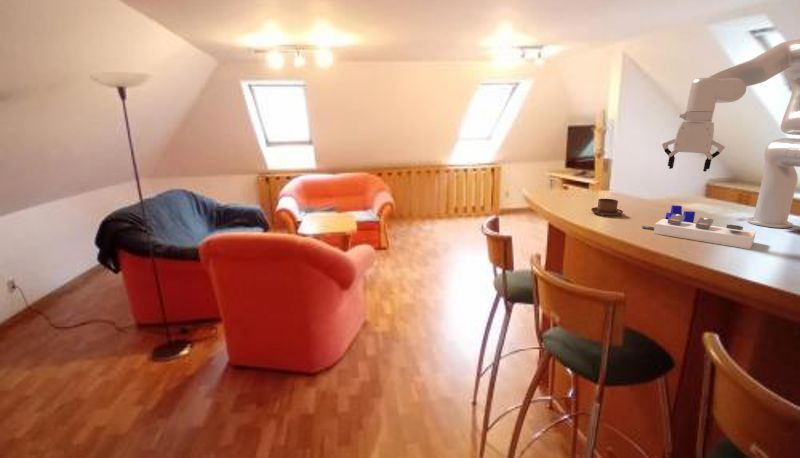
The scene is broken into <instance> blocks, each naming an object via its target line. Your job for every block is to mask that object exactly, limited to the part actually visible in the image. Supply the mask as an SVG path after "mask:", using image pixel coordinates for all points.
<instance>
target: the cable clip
mask: <svg viewBox="0 0 800 458" xmlns="http://www.w3.org/2000/svg"><path fill="white" fill-rule="evenodd" d="M670 207H671V208H670V212H665V218H664V219H669V218H670V217H671V215H672V214H680V215H685V218H684V220H683V221H682V222H689V223H694V221H695V215H696V212H695V211H692V210H689V211H688V210H684V211H683V210H682V208H683V206H681V205H677V204H676V205H675V204H672V205H671V206H670Z"/></svg>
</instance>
